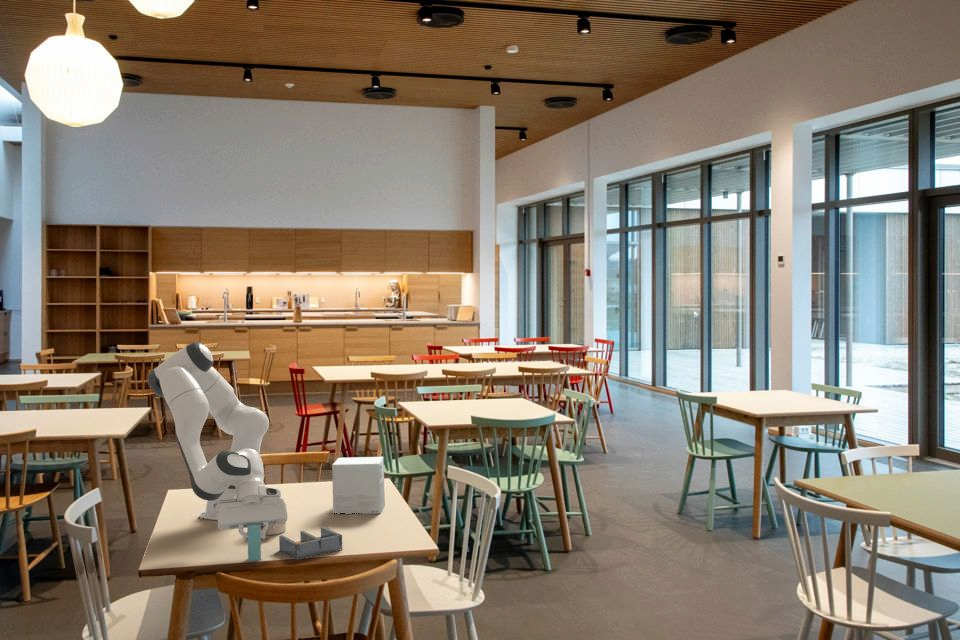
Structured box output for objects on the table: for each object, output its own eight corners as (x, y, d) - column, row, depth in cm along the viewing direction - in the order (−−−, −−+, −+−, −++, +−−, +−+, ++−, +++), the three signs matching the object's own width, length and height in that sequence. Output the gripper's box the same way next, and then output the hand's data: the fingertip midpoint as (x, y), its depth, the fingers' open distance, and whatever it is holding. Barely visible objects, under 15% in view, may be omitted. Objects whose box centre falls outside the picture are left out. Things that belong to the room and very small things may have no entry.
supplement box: (385, 504, 302) (384, 456, 301) (380, 514, 289) (380, 463, 288) (339, 505, 302) (338, 456, 302) (332, 514, 289) (331, 464, 288)
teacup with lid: (257, 529, 272) (256, 494, 272) (284, 526, 275) (284, 492, 275) (260, 539, 261) (259, 503, 260) (289, 536, 264) (288, 500, 264)
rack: (279, 550, 250) (278, 535, 249) (323, 540, 259) (323, 526, 259) (296, 560, 240) (296, 545, 240) (342, 549, 249) (342, 535, 249)
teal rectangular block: (248, 558, 242) (247, 525, 241) (260, 557, 243) (259, 524, 243) (248, 561, 239) (247, 527, 239) (260, 559, 241) (260, 526, 240)
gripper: (215, 495, 244) (217, 537, 235) (285, 489, 250) (289, 529, 242) (215, 506, 248) (217, 547, 239) (284, 500, 255) (288, 539, 246)
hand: (254, 538), depth 240 cm, fingers closed on teal rectangular block, 3 cm apart
